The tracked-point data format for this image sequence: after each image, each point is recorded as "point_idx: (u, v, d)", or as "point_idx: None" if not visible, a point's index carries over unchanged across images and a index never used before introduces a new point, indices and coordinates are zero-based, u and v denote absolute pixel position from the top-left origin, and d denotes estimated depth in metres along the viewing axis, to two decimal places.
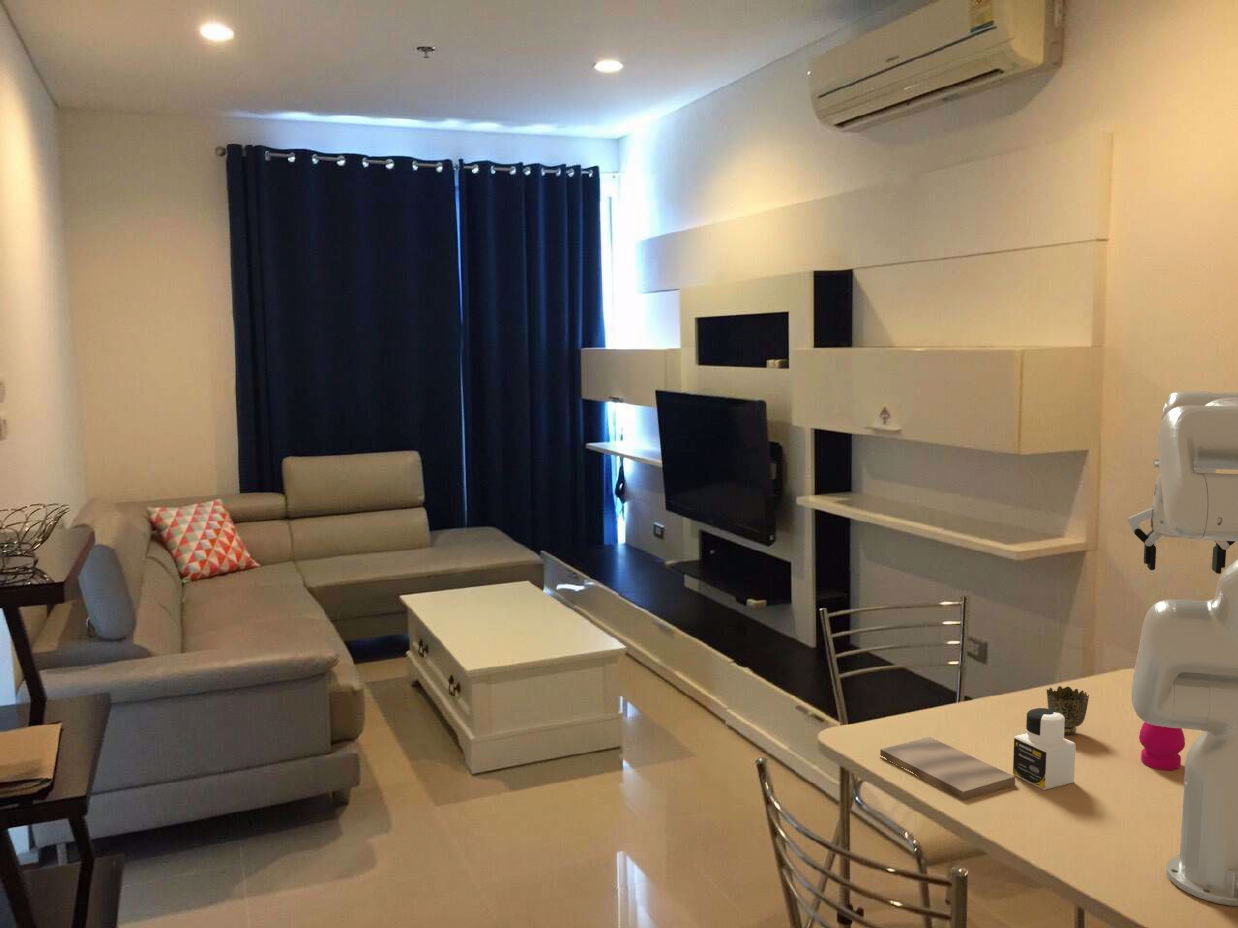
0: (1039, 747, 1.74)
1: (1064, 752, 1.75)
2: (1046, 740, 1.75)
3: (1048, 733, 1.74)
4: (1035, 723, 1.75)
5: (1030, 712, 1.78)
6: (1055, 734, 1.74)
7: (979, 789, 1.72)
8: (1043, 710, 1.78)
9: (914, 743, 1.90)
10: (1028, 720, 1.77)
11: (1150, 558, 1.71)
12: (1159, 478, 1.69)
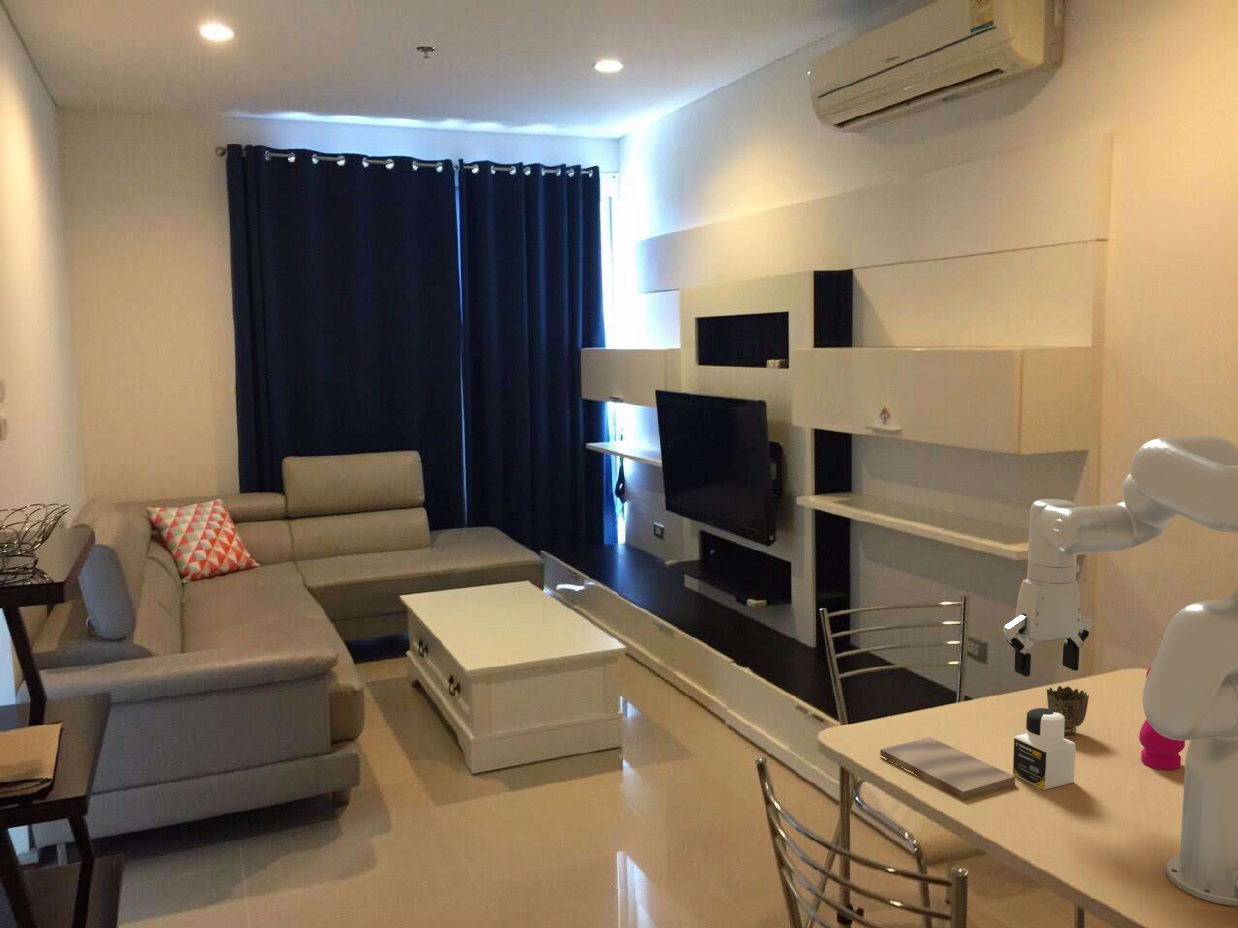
0: (1039, 747, 1.74)
1: (1064, 752, 1.75)
2: (1046, 740, 1.75)
3: (1048, 733, 1.74)
4: (1035, 723, 1.75)
5: (1030, 712, 1.78)
6: (1055, 734, 1.74)
7: (979, 789, 1.72)
8: (1043, 710, 1.78)
9: (914, 743, 1.90)
10: (1028, 720, 1.77)
11: None
12: None
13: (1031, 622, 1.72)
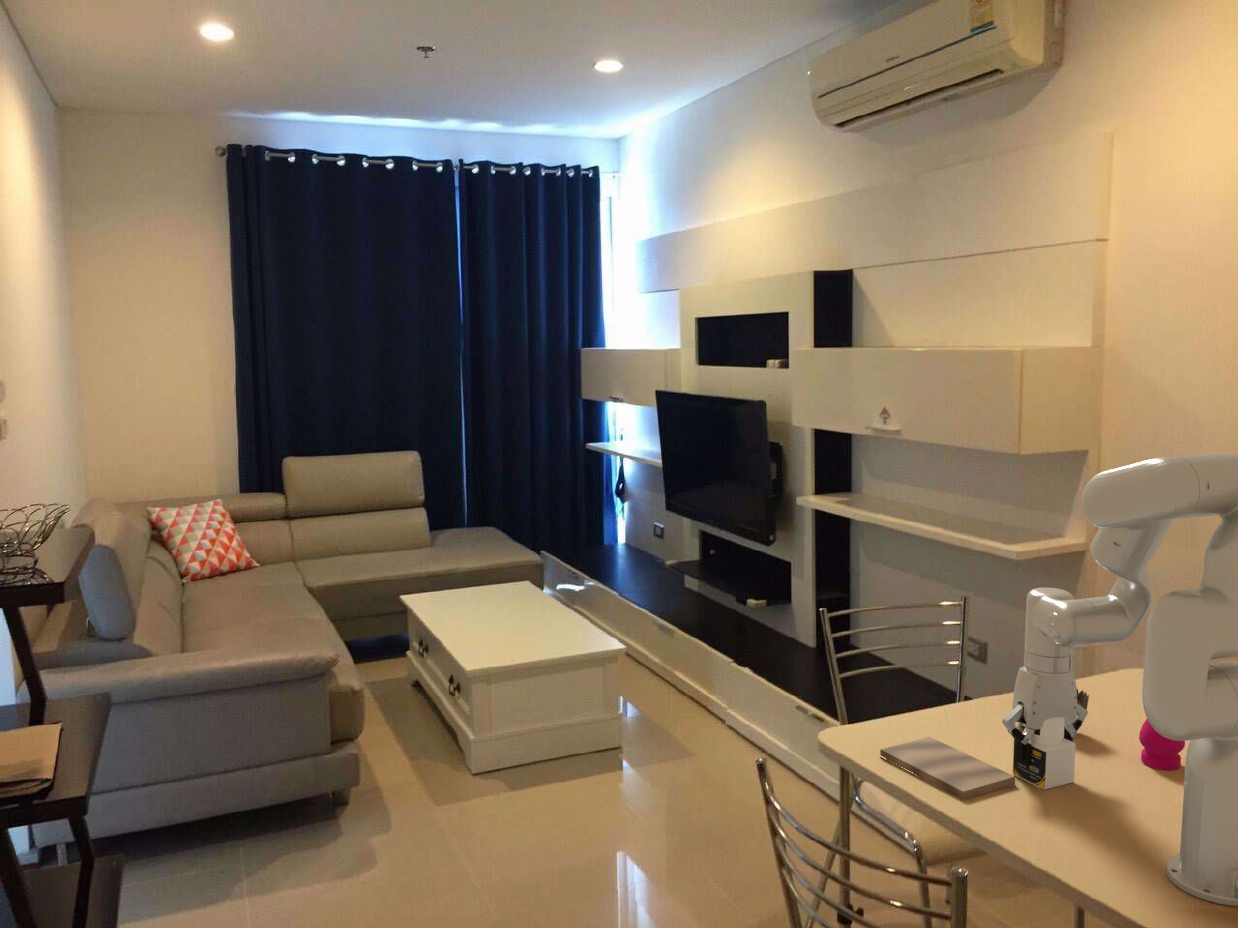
0: (1039, 747, 1.74)
1: (1064, 752, 1.75)
2: (1046, 740, 1.75)
3: (1048, 733, 1.74)
4: None
5: None
6: (1055, 734, 1.74)
7: (979, 789, 1.72)
8: None
9: (914, 743, 1.90)
10: None
11: None
12: None
13: (1028, 711, 1.74)
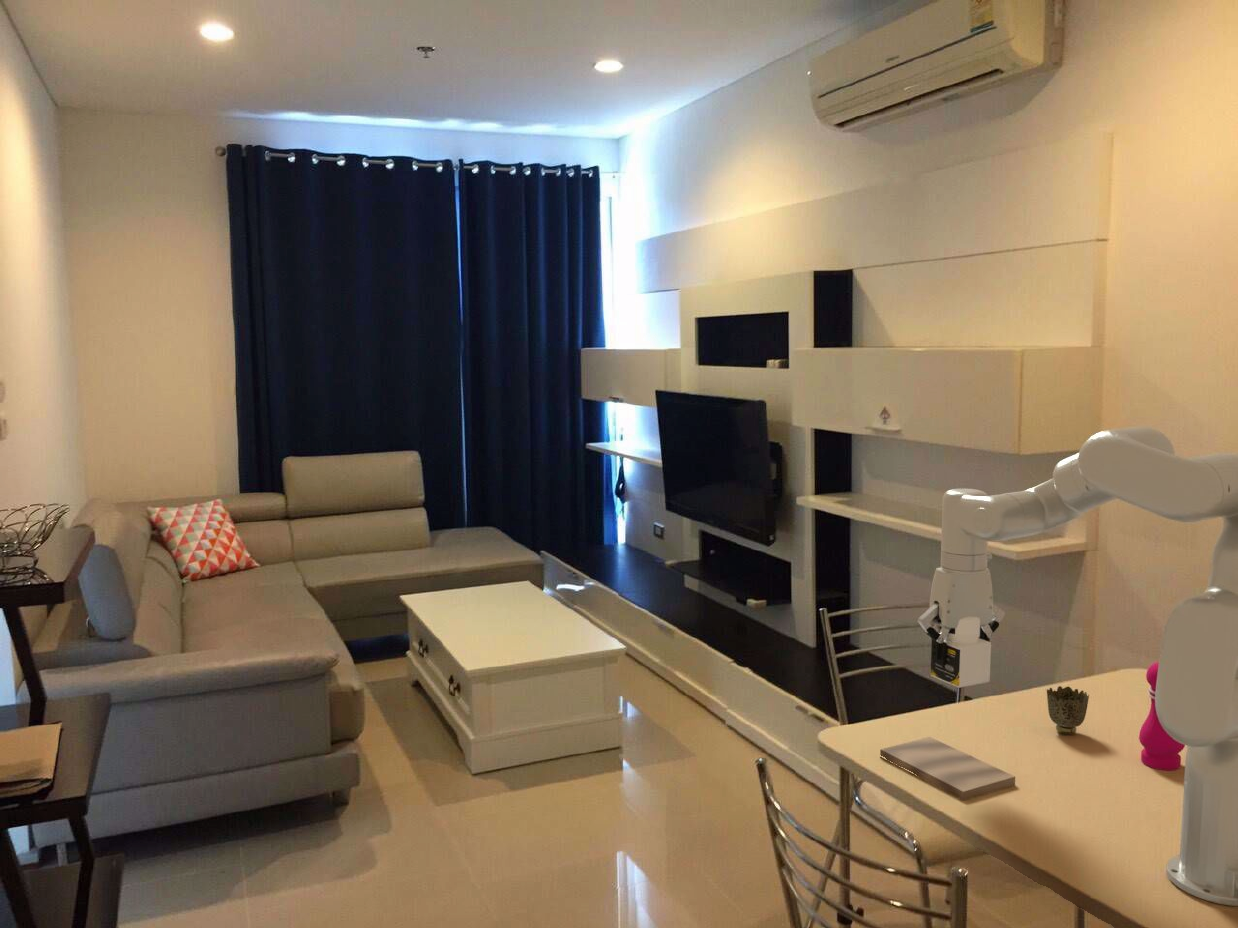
0: (953, 645, 1.76)
1: (978, 651, 1.76)
2: (961, 639, 1.76)
3: (963, 631, 1.76)
4: None
5: None
6: (970, 633, 1.76)
7: (979, 789, 1.72)
8: None
9: (914, 743, 1.90)
10: None
11: None
12: None
13: (943, 609, 1.75)
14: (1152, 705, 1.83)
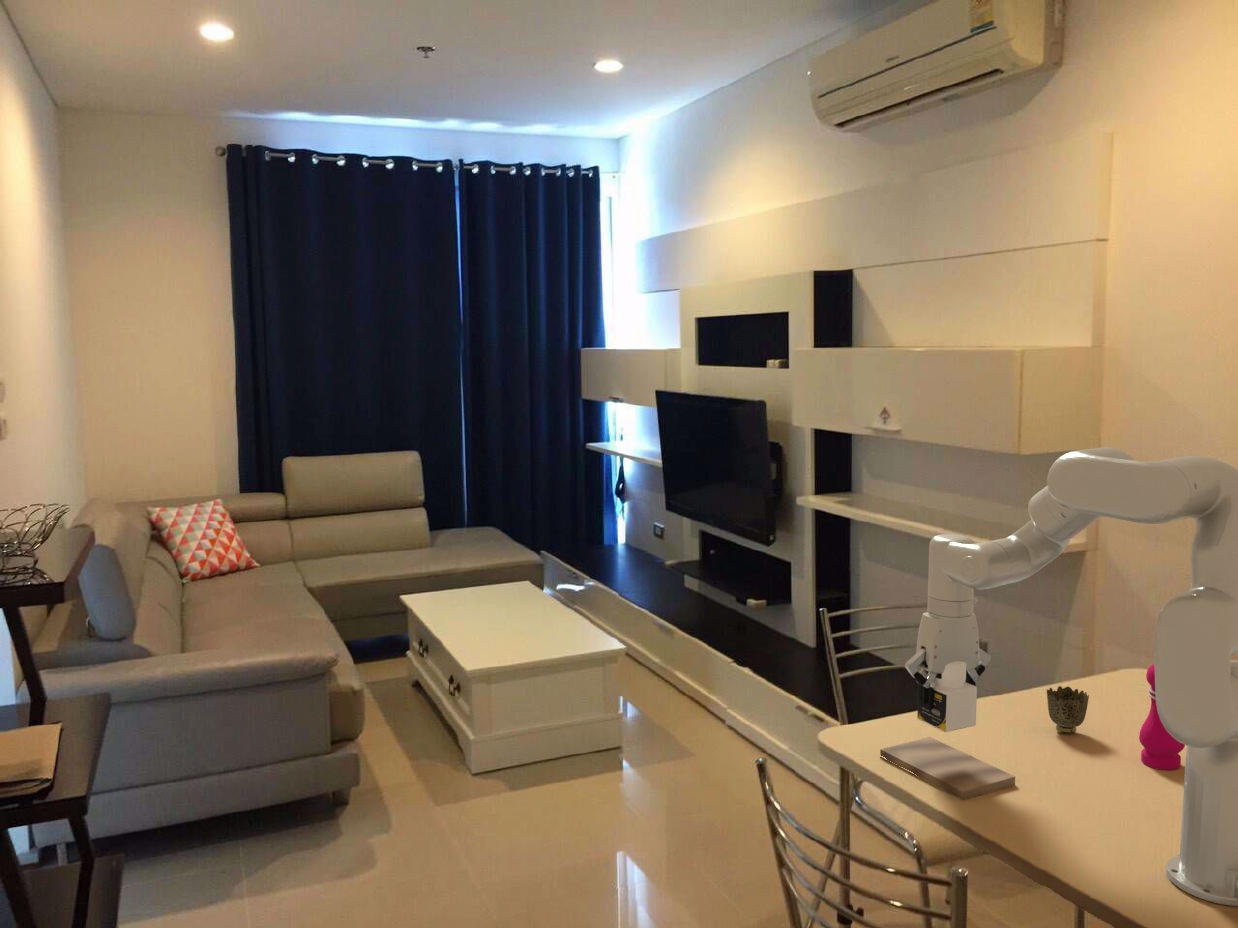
0: (940, 690, 1.77)
1: (965, 695, 1.77)
2: (947, 683, 1.77)
3: (949, 676, 1.77)
4: None
5: None
6: (956, 677, 1.77)
7: (979, 789, 1.72)
8: None
9: (914, 743, 1.90)
10: None
11: None
12: None
13: (929, 655, 1.76)
14: (1152, 705, 1.83)
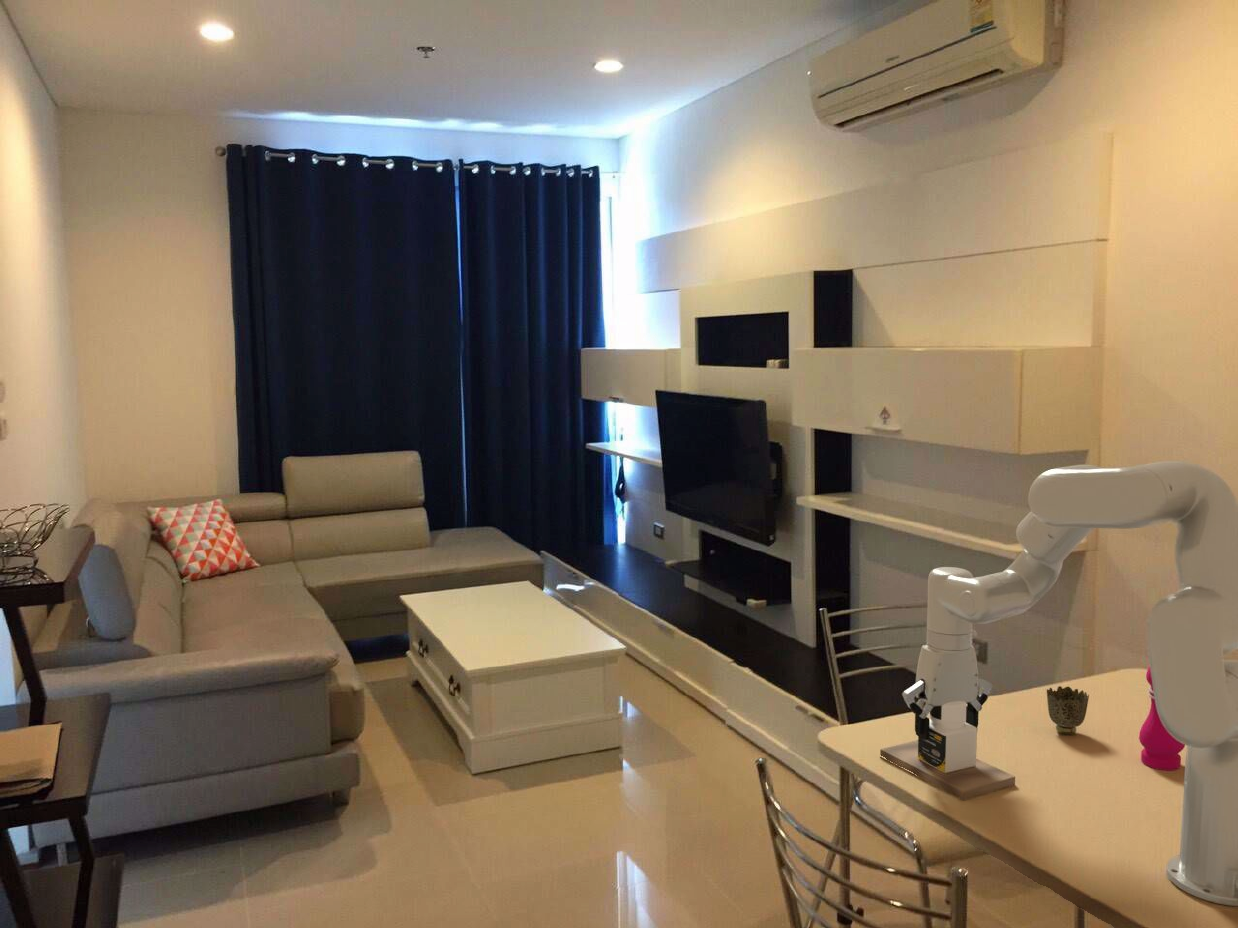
0: (939, 731, 1.78)
1: (964, 736, 1.78)
2: (947, 724, 1.78)
3: (949, 717, 1.78)
4: (937, 707, 1.79)
5: None
6: (955, 718, 1.78)
7: (979, 789, 1.72)
8: None
9: (914, 743, 1.90)
10: None
11: None
12: None
13: (929, 688, 1.77)
14: (1152, 705, 1.83)
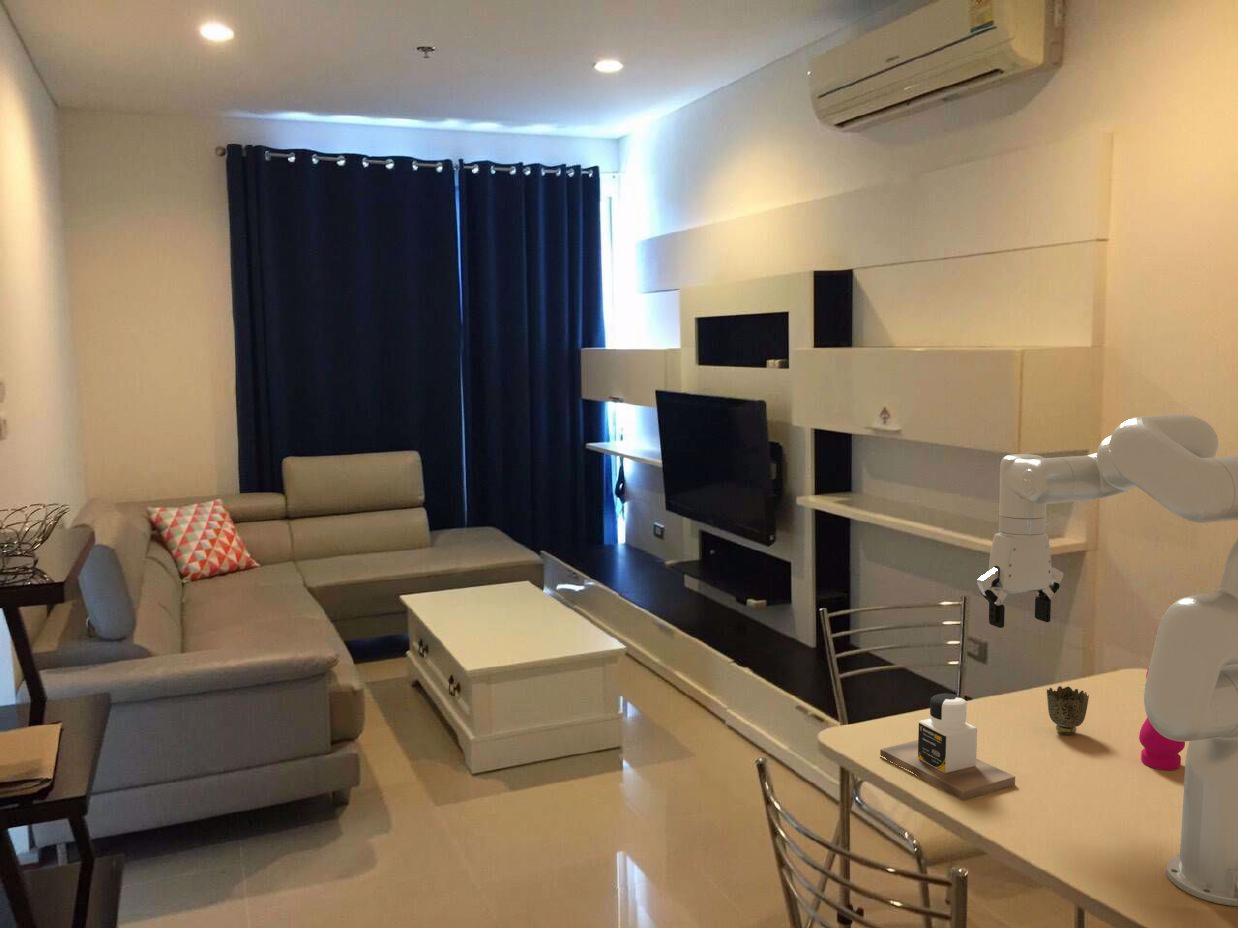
0: (939, 731, 1.78)
1: (965, 736, 1.78)
2: (947, 724, 1.78)
3: (949, 717, 1.78)
4: (937, 707, 1.79)
5: (933, 697, 1.81)
6: (956, 719, 1.78)
7: (979, 789, 1.72)
8: (946, 695, 1.81)
9: (914, 743, 1.90)
10: (931, 705, 1.80)
11: None
12: None
13: (1004, 574, 1.76)
14: None
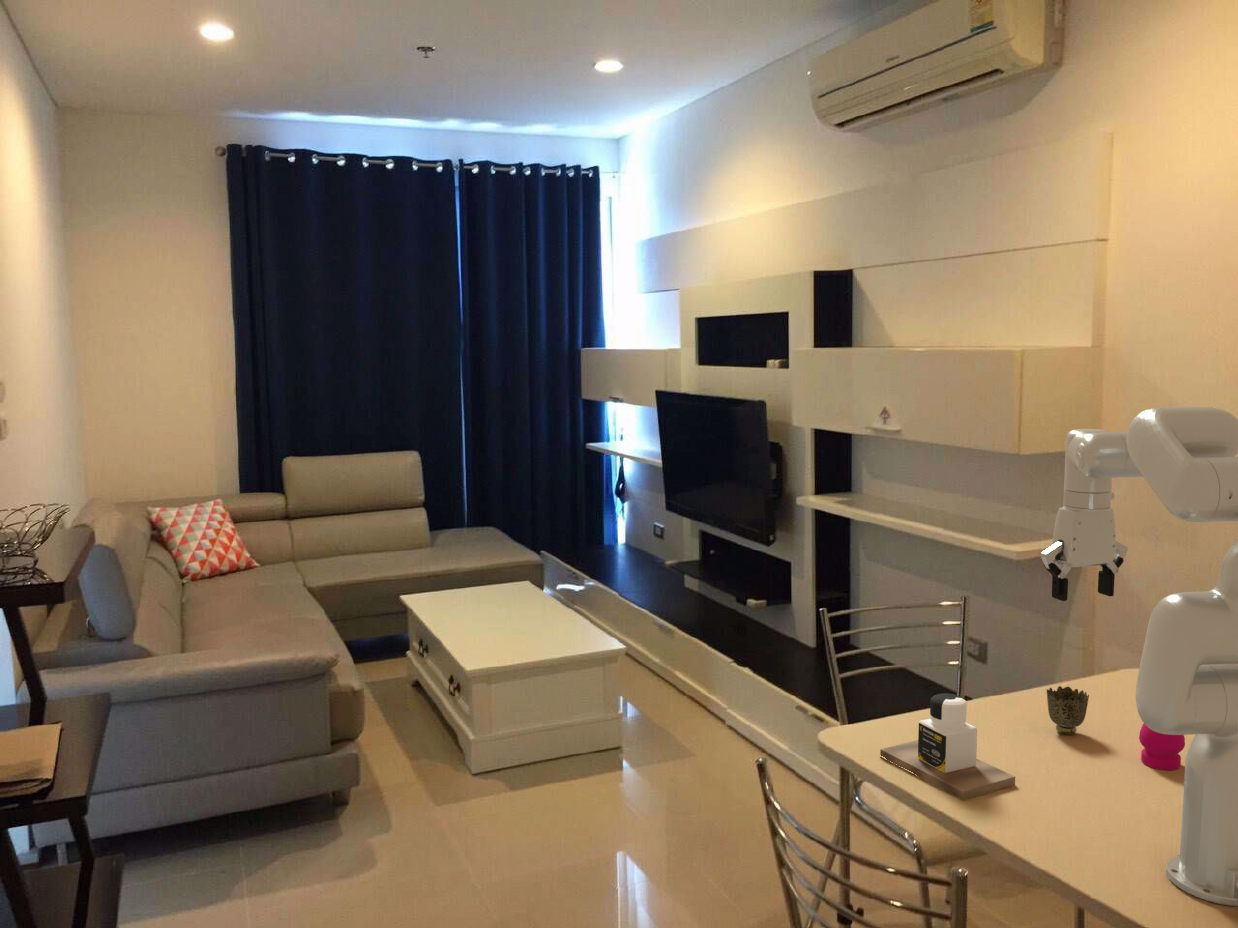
0: (939, 731, 1.78)
1: (965, 736, 1.78)
2: (947, 724, 1.78)
3: (949, 717, 1.78)
4: (937, 707, 1.79)
5: (933, 697, 1.81)
6: (956, 719, 1.78)
7: (979, 789, 1.72)
8: (946, 695, 1.81)
9: (914, 743, 1.90)
10: (931, 705, 1.80)
11: None
12: None
13: (1068, 547, 1.77)
14: None
